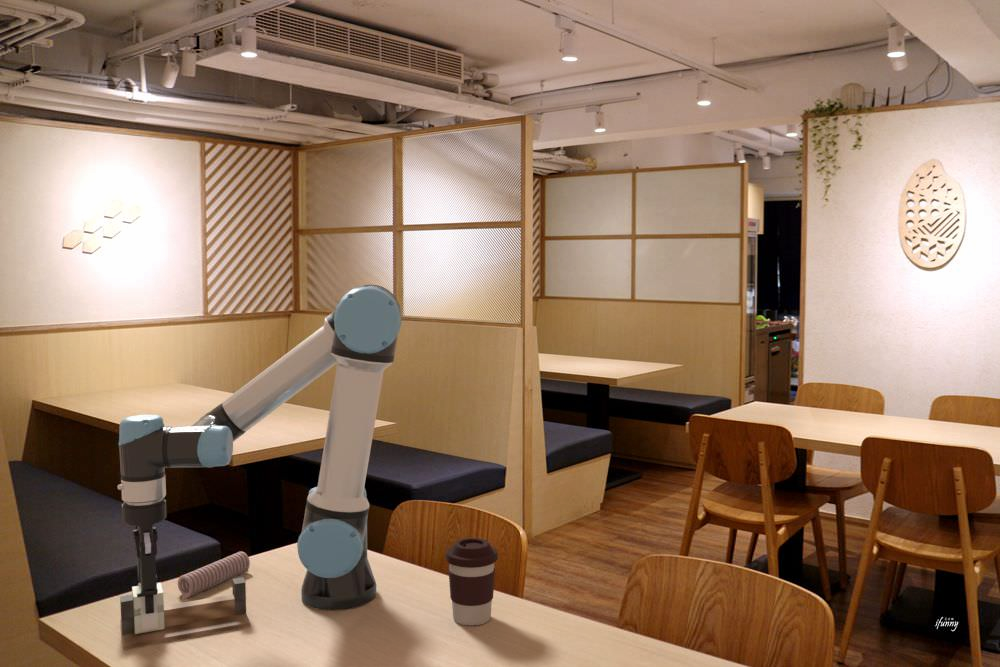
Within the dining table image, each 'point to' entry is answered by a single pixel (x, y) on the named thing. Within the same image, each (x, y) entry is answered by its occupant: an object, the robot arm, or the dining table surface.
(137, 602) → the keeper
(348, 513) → the robot arm
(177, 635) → the track
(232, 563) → the coil
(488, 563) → the coffee cup
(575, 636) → the dining table surface
